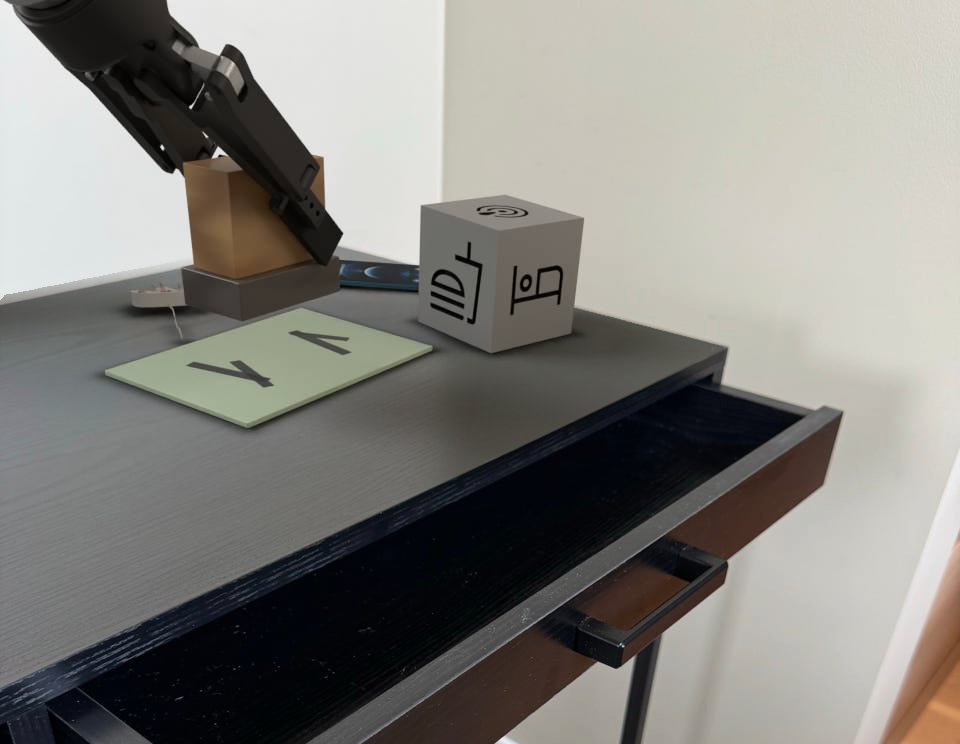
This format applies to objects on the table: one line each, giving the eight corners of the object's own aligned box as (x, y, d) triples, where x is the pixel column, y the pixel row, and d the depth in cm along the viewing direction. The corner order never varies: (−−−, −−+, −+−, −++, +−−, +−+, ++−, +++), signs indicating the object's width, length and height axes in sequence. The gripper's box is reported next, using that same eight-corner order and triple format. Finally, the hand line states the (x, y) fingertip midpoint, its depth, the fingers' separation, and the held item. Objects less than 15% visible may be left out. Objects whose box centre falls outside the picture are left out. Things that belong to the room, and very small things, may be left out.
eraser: (184, 304, 67) (168, 161, 62) (285, 276, 74) (277, 145, 69) (242, 322, 65) (230, 175, 60) (340, 291, 72) (337, 157, 66)
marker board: (105, 375, 74) (104, 369, 74) (301, 311, 90) (301, 307, 89) (247, 428, 68) (247, 422, 68) (432, 350, 83) (432, 345, 83)
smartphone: (441, 287, 96) (289, 276, 96) (441, 293, 97) (290, 282, 96) (443, 266, 103) (301, 256, 102) (443, 272, 103) (301, 262, 102)
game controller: (183, 296, 91) (180, 268, 89) (243, 333, 84) (241, 302, 83) (124, 305, 88) (120, 275, 86) (182, 343, 81) (178, 312, 79)
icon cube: (490, 353, 83) (499, 230, 78) (418, 321, 89) (420, 205, 84) (571, 333, 89) (584, 217, 83) (497, 304, 95) (505, 194, 89)
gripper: (-82, 1, 53) (184, 260, 74) (151, 34, 45) (375, 313, 66) (-17, -113, 53) (229, 176, 74) (225, -101, 46) (424, 218, 66)
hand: (297, 240), depth 70 cm, fingers closed on eraser, 5 cm apart
